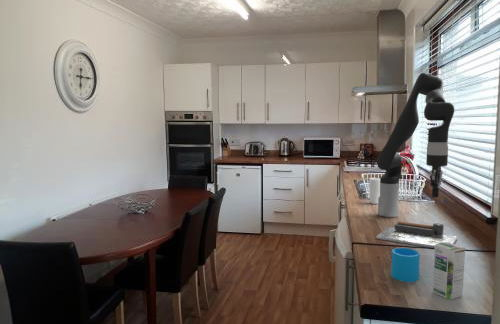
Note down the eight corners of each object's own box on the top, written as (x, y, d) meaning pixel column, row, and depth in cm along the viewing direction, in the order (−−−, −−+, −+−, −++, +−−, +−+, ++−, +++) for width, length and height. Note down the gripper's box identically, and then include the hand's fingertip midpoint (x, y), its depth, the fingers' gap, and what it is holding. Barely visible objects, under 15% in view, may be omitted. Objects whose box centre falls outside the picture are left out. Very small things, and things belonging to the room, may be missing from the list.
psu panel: (376, 238, 162) (376, 235, 162) (388, 228, 177) (388, 226, 177) (450, 250, 146) (450, 247, 146) (457, 238, 161) (457, 236, 160)
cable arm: (444, 232, 164) (444, 223, 164) (442, 236, 159) (442, 226, 159) (397, 226, 175) (398, 217, 174) (394, 229, 170) (394, 220, 170)
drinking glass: (380, 202, 232) (381, 178, 230) (380, 205, 226) (381, 179, 224) (369, 202, 234) (369, 177, 233) (368, 204, 228) (369, 179, 226)
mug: (422, 282, 118) (422, 257, 117) (394, 281, 119) (394, 256, 118) (411, 268, 130) (412, 244, 129) (386, 267, 131) (387, 243, 130)
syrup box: (431, 292, 111) (433, 243, 110) (445, 288, 114) (447, 240, 112) (449, 300, 106) (451, 249, 105) (463, 296, 109) (466, 246, 107)
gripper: (444, 155, 144) (442, 200, 146) (450, 152, 155) (448, 195, 156) (423, 154, 148) (421, 198, 150) (430, 152, 159) (428, 193, 161)
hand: (435, 196), depth 153 cm, fingers closed
